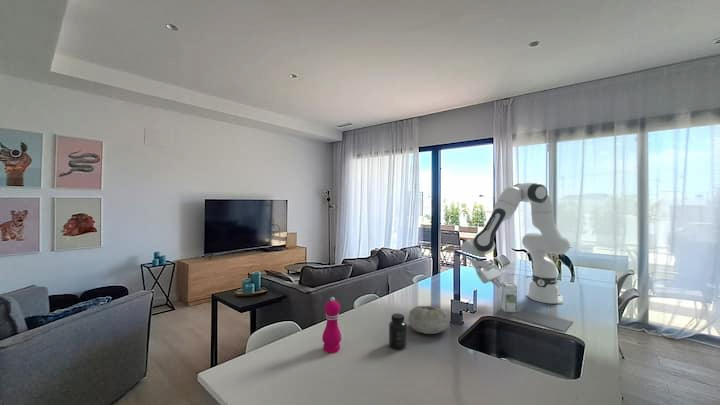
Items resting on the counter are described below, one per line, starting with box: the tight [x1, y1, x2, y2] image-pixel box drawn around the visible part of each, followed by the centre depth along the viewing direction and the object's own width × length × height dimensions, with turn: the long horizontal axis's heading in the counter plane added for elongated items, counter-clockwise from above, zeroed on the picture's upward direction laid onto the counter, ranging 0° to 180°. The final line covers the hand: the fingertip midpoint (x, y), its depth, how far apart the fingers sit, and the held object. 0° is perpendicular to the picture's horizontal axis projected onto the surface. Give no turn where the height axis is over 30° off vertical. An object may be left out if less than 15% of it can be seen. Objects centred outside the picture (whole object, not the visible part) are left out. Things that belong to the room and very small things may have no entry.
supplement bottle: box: [388, 312, 407, 351], centre depth 115 cm, size 7×7×12 cm
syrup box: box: [500, 281, 518, 314], centre depth 155 cm, size 6×6×14 cm
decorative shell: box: [408, 305, 451, 335], centre depth 130 cm, size 18×18×10 cm
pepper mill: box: [321, 296, 342, 354], centre depth 112 cm, size 7×7×20 cm
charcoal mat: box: [511, 308, 574, 333], centre depth 144 cm, size 16×22×1 cm
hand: (500, 286), depth 158 cm, fingers closed
